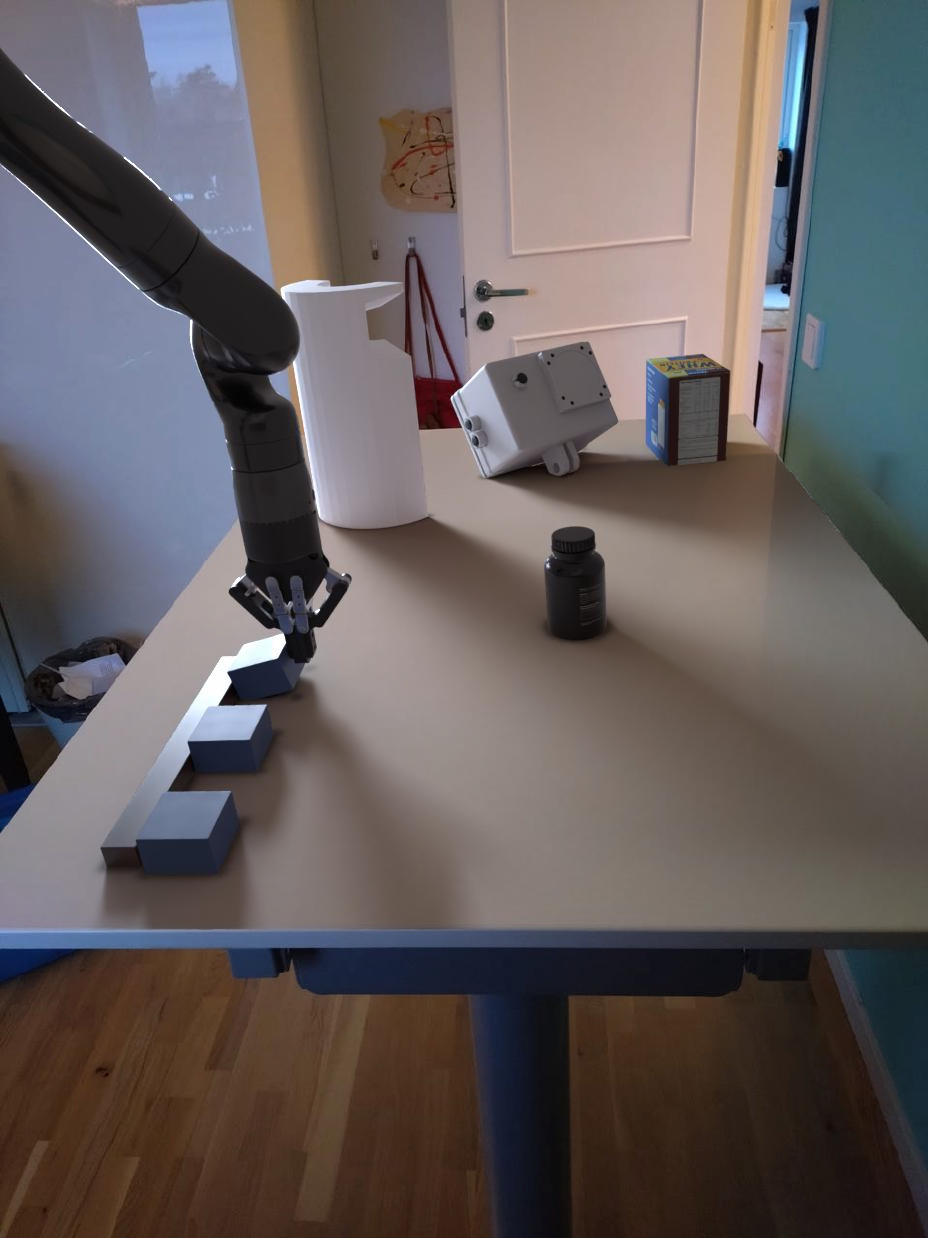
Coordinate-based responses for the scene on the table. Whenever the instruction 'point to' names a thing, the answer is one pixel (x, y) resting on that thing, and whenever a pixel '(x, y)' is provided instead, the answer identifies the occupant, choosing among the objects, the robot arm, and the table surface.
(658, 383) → the protein box
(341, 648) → the table surface
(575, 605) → the supplement bottle
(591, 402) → the junction box
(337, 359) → the white tall curved block
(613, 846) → the table surface
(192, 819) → the near block
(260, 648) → the far block
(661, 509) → the table surface
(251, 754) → the middle block
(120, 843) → the straightedge
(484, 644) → the table surface
